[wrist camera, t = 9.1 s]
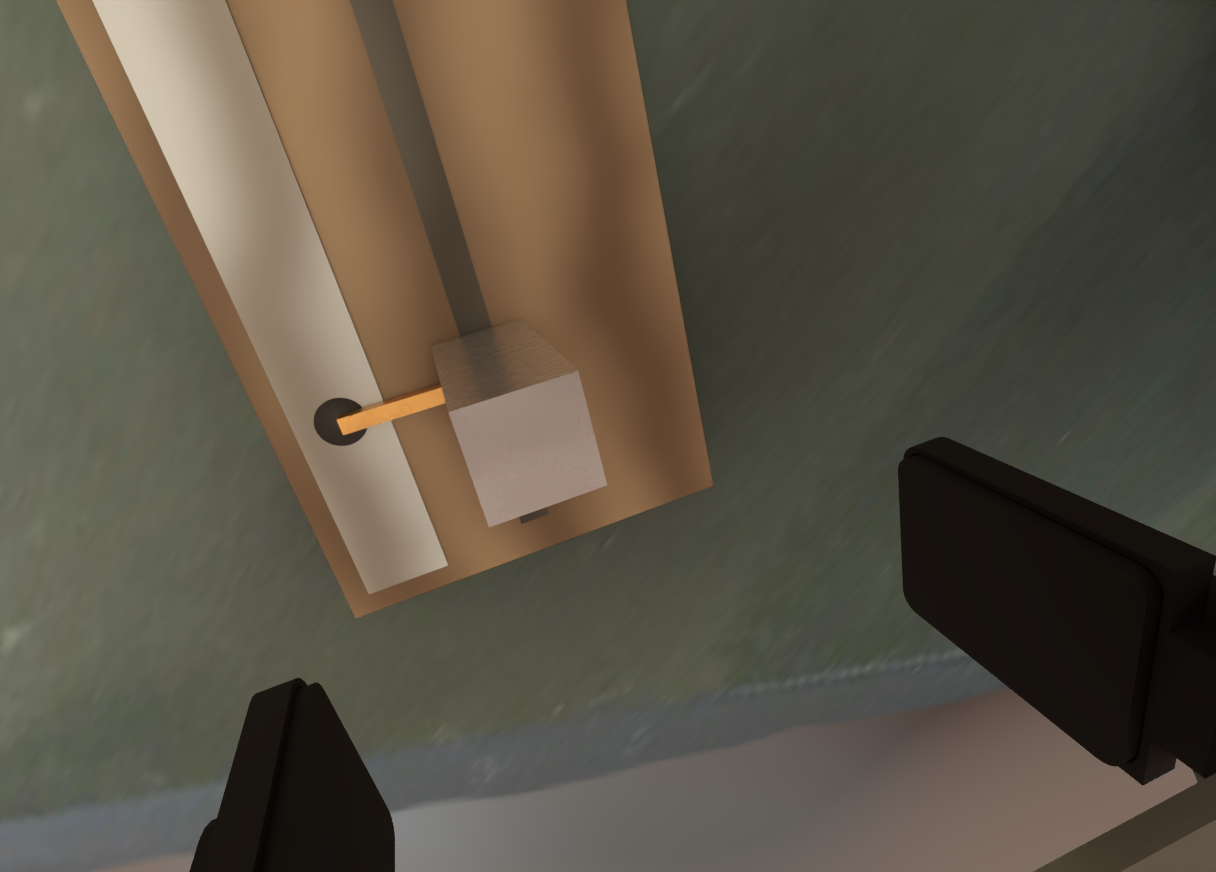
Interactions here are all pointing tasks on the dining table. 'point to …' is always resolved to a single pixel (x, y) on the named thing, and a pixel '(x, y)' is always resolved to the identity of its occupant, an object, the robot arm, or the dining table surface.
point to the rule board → (412, 245)
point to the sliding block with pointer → (507, 419)
